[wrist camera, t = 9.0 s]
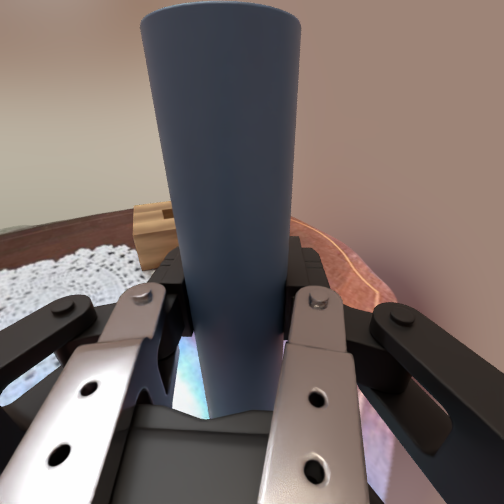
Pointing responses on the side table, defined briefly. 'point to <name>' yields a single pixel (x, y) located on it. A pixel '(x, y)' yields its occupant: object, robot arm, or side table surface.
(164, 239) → the rack
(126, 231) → the side table surface
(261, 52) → the peg
